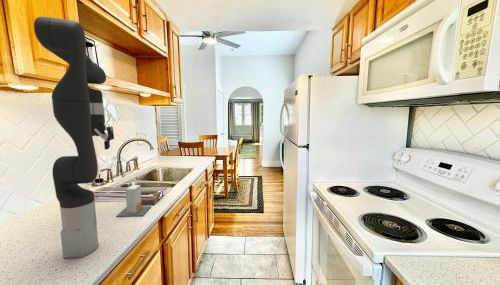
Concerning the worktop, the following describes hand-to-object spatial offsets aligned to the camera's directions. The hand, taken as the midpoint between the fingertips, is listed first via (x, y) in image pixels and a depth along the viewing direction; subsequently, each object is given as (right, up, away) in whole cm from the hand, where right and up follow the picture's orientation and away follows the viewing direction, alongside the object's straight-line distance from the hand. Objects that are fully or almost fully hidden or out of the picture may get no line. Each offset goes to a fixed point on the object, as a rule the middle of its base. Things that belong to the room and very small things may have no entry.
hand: (97, 149), depth 99 cm
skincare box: (+14, -30, +6) cm, 34 cm away
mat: (+14, -31, +6) cm, 34 cm away
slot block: (+13, -29, +20) cm, 37 cm away
